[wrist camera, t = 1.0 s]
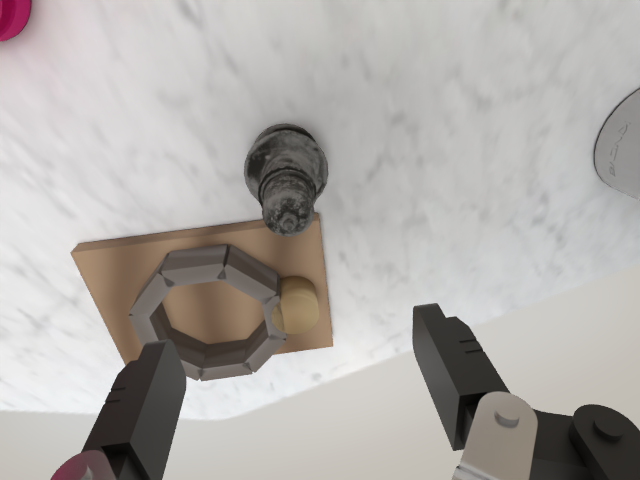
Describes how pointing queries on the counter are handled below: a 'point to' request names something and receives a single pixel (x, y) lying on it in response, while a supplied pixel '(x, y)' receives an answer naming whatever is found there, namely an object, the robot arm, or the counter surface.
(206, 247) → the board
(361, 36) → the counter surface
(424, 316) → the robot arm
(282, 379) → the counter surface
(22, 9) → the pepper mill
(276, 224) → the salt shaker
